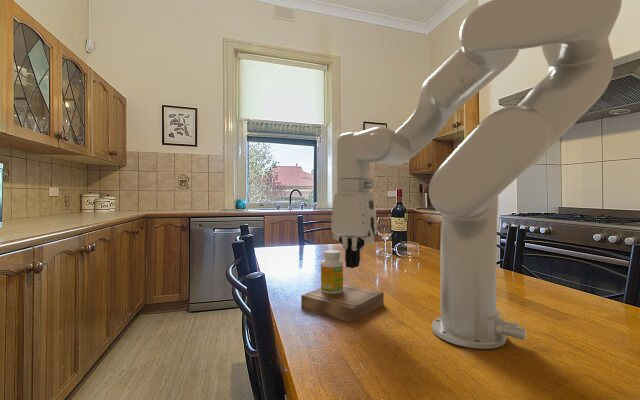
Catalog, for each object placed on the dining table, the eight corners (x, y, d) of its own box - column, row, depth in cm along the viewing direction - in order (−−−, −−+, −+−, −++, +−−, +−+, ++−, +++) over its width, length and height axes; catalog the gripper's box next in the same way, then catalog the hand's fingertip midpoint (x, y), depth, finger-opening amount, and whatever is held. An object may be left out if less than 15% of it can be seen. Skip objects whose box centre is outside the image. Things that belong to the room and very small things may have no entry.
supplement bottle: (334, 296, 72) (334, 254, 72) (316, 291, 76) (316, 251, 76) (347, 290, 77) (347, 250, 77) (329, 286, 80) (329, 248, 80)
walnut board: (383, 304, 75) (383, 291, 75) (351, 322, 64) (351, 307, 64) (336, 293, 84) (336, 282, 84) (301, 308, 73) (301, 294, 73)
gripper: (390, 187, 70) (389, 268, 71) (336, 188, 80) (335, 259, 80) (373, 186, 65) (373, 275, 65) (317, 187, 74) (317, 264, 74)
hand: (352, 266), depth 72 cm, fingers closed
